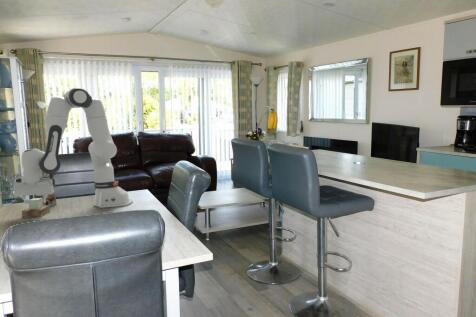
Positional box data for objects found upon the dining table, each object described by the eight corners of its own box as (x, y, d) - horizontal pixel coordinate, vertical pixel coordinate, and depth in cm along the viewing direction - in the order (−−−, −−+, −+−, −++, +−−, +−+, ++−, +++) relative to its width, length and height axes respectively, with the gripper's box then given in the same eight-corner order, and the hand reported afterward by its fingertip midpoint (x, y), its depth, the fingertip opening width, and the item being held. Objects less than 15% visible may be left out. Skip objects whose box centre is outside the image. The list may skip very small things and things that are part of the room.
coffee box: (46, 207, 217) (44, 181, 215) (37, 207, 218) (34, 181, 216) (57, 204, 226) (54, 178, 224) (48, 204, 227) (45, 178, 225)
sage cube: (42, 206, 205) (41, 198, 204) (38, 209, 200) (37, 200, 199) (33, 207, 205) (32, 198, 204) (29, 209, 200) (28, 200, 199)
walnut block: (49, 212, 208) (49, 205, 207) (41, 217, 198) (40, 210, 197) (31, 213, 207) (31, 206, 207) (22, 218, 197) (21, 210, 197)
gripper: (54, 176, 204) (56, 200, 205) (17, 178, 203) (19, 202, 204) (49, 178, 197) (51, 203, 199) (10, 180, 196) (13, 205, 198)
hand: (35, 202), depth 202 cm, fingers open, 8 cm apart
